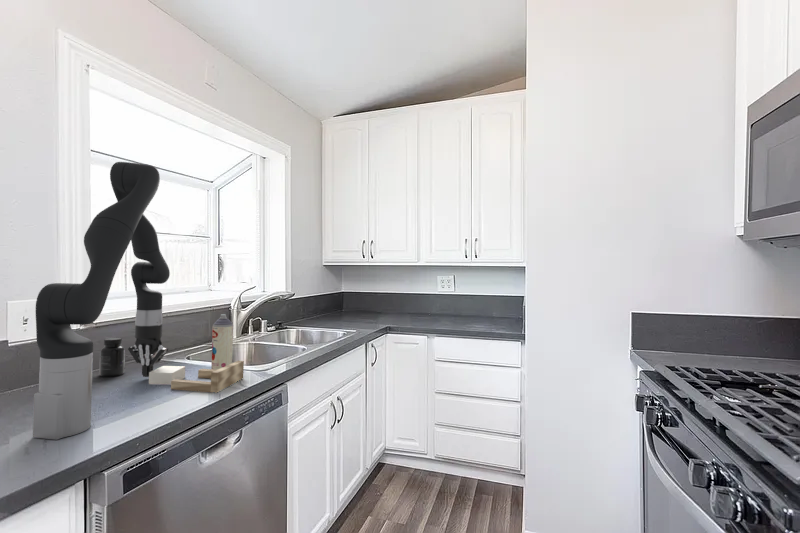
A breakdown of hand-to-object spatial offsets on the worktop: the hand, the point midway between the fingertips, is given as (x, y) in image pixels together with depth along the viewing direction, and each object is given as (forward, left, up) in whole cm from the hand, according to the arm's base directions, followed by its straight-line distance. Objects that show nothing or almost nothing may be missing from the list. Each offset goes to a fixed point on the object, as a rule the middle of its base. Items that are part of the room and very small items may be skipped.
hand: (147, 376), depth 131 cm
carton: (0, -7, -1) cm, 7 cm away
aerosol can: (+16, -16, -1) cm, 23 cm away
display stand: (0, -22, -1) cm, 22 cm away
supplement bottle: (+2, +15, -1) cm, 15 cm away
